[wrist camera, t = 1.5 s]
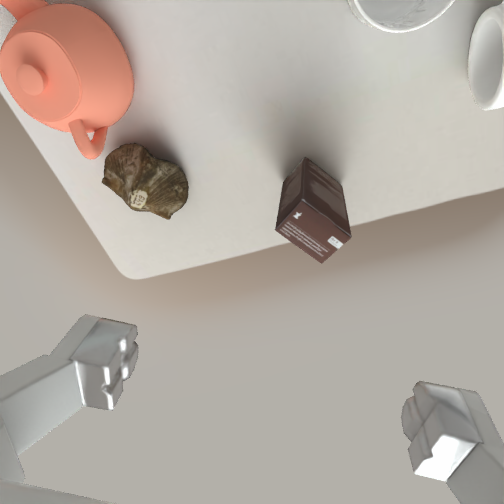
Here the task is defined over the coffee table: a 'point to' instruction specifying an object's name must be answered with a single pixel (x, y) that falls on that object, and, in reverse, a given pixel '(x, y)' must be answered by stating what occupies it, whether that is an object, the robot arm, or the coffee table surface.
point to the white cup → (398, 13)
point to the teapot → (66, 70)
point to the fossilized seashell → (145, 180)
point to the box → (313, 211)
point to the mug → (487, 59)
